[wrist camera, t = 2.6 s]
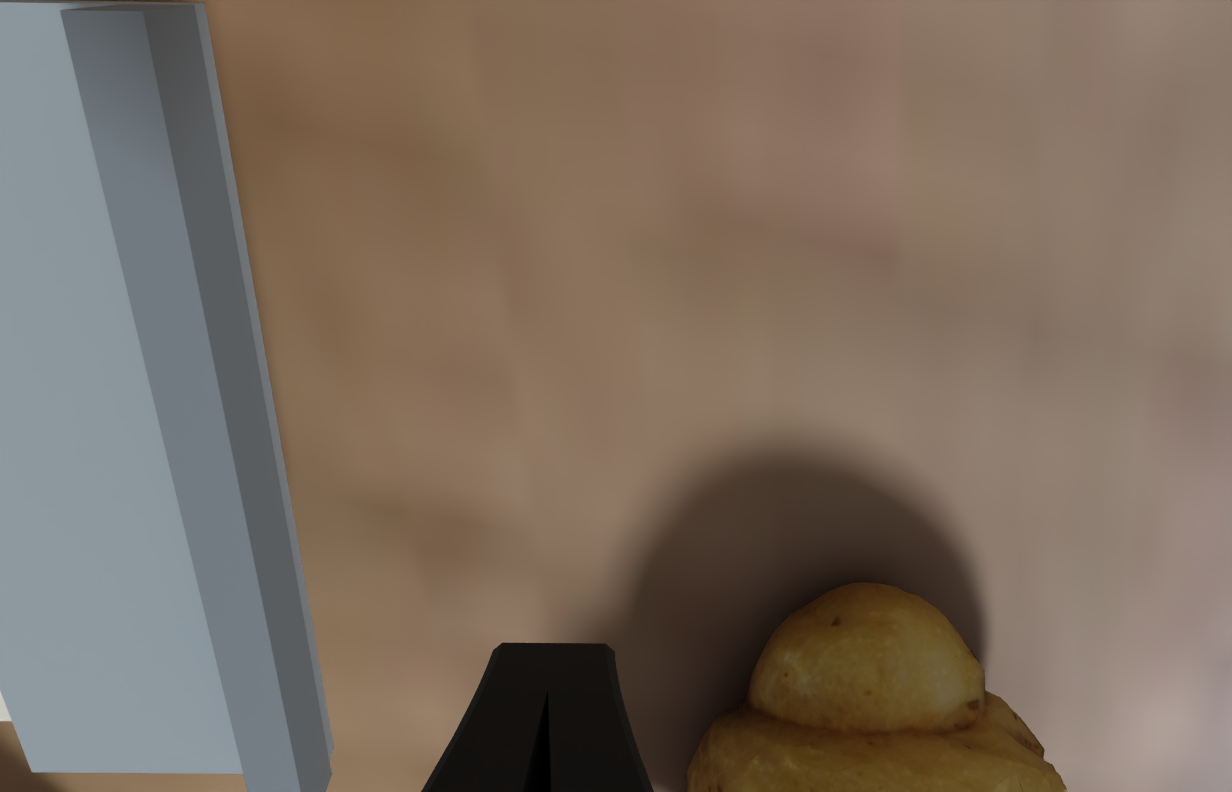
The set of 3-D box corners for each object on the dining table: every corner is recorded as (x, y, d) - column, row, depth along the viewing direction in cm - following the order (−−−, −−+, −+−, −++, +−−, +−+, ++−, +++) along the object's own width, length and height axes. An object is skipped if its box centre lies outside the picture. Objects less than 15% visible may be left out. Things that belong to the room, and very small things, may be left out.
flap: (340, 747, 19) (309, 837, 17) (50, 745, 19) (-14, 836, 17) (215, 2, 13) (143, 12, 11) (-225, -5, 13) (-379, 3, 11)
